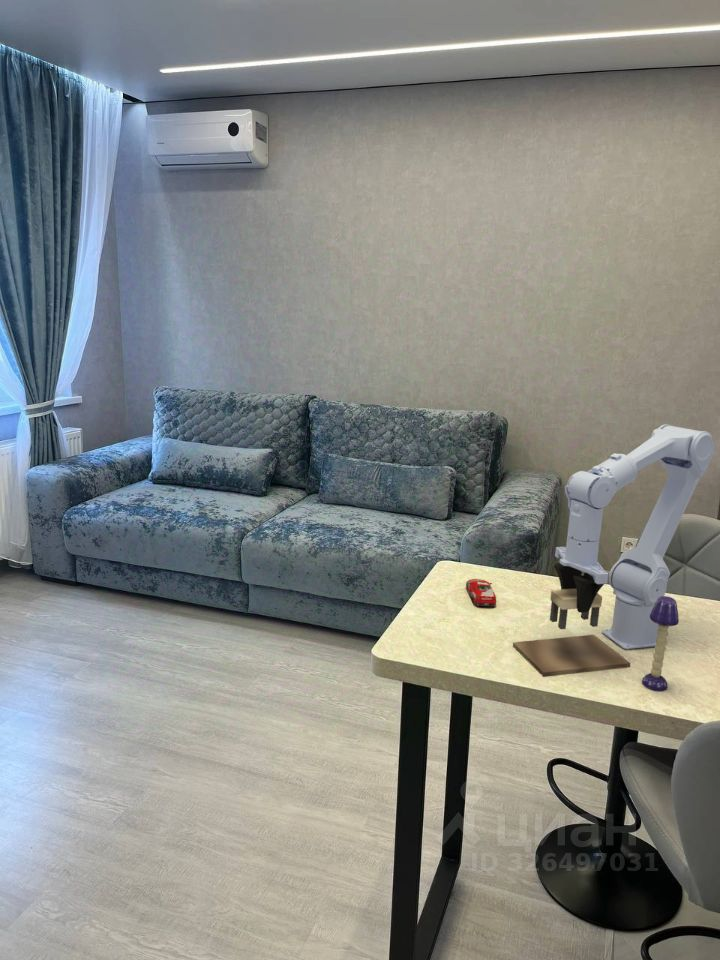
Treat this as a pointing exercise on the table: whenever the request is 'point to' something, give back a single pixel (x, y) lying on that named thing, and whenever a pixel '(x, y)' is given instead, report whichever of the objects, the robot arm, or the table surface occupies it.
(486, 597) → the race car
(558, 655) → the walnut board
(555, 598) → the oak stool
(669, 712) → the table surface
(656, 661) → the toy lamp
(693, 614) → the table surface
